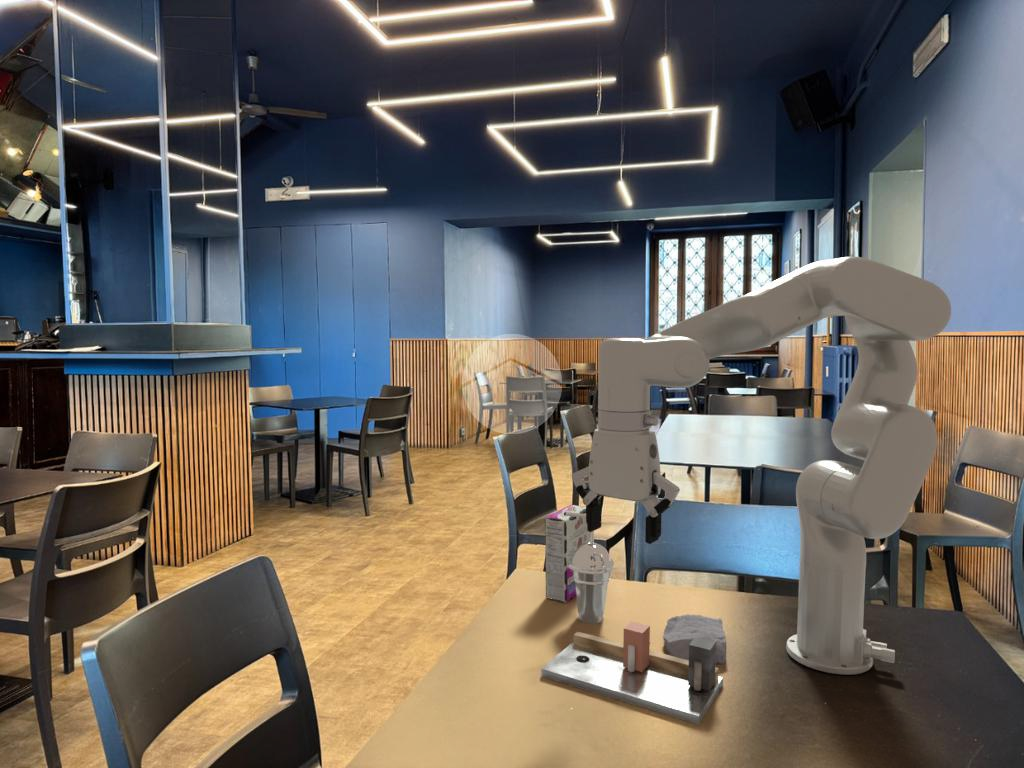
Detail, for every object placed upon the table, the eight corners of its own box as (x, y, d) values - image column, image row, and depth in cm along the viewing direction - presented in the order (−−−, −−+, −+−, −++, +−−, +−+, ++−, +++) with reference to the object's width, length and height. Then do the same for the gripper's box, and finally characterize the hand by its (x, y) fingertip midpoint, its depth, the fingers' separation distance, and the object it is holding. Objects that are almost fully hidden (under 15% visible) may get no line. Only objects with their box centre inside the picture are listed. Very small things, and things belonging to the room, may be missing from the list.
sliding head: (649, 663, 104) (649, 625, 104) (639, 675, 101) (640, 635, 101) (630, 658, 106) (631, 621, 106) (620, 669, 103) (621, 630, 102)
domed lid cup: (612, 630, 120) (614, 517, 118) (561, 625, 122) (562, 514, 120) (615, 610, 128) (617, 505, 126) (567, 606, 130) (568, 502, 128)
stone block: (667, 672, 109) (732, 666, 107) (662, 642, 109) (726, 636, 107) (666, 641, 120) (724, 635, 118) (661, 615, 120) (719, 608, 118)
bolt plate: (722, 685, 101) (723, 676, 101) (698, 724, 91) (698, 715, 91) (577, 645, 114) (577, 637, 114) (541, 676, 104) (541, 667, 104)
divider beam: (718, 678, 101) (719, 637, 100) (706, 696, 96) (708, 652, 95) (577, 640, 113) (577, 603, 112) (561, 654, 108) (561, 616, 107)
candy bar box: (569, 580, 143) (570, 503, 142) (591, 585, 140) (592, 507, 139) (543, 598, 134) (543, 516, 132) (566, 604, 131) (566, 520, 130)
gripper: (689, 423, 99) (687, 539, 100) (586, 414, 109) (585, 520, 110) (667, 429, 93) (665, 553, 94) (560, 420, 103) (560, 531, 105)
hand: (622, 535), depth 102 cm, fingers open, 9 cm apart
